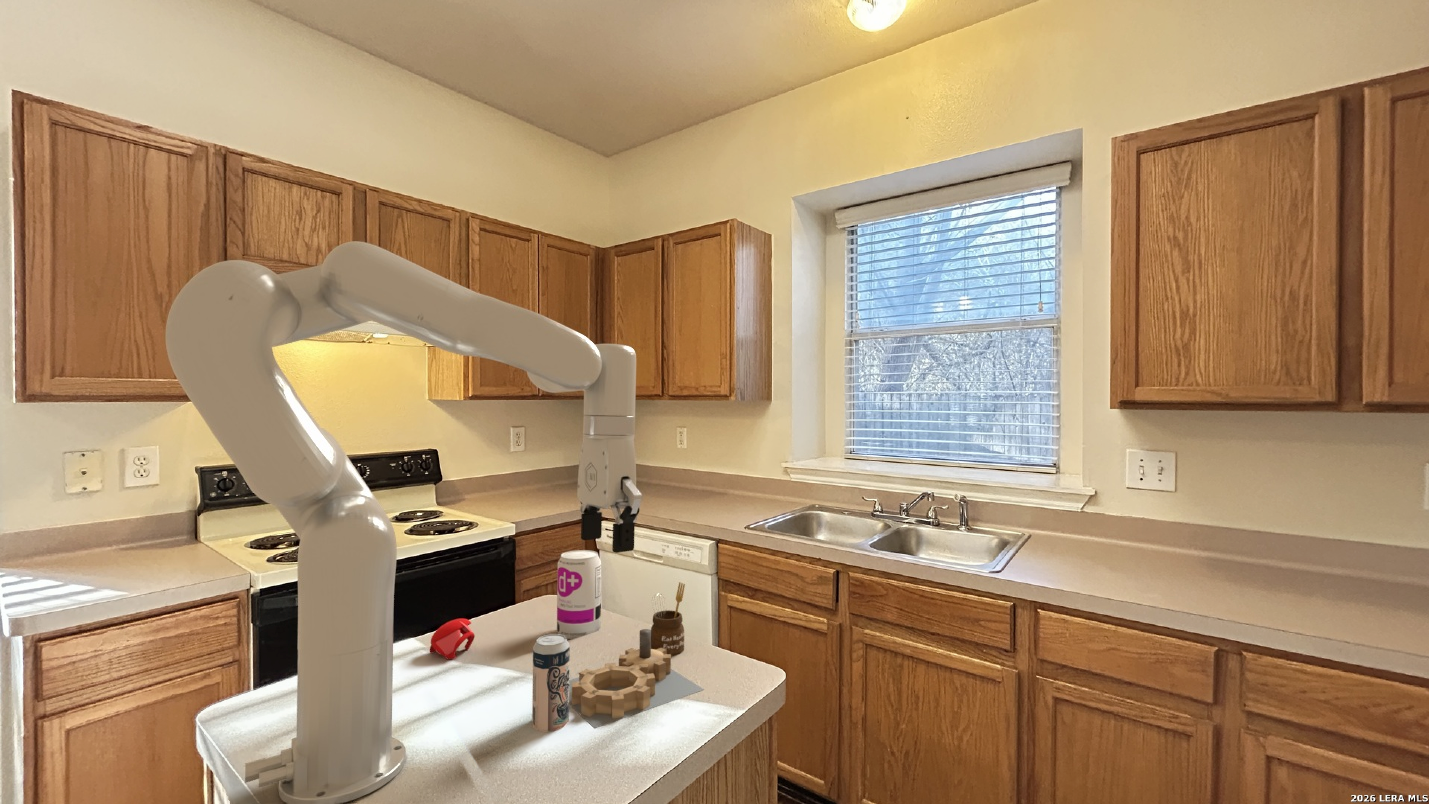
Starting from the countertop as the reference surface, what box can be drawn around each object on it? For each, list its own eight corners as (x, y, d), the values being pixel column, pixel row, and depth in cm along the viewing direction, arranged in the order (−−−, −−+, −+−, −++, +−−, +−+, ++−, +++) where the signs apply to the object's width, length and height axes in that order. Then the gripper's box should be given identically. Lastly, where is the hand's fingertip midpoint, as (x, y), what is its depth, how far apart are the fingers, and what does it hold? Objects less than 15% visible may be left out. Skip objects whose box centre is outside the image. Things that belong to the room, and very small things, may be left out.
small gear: (642, 688, 89) (642, 645, 89) (608, 672, 95) (608, 631, 95) (681, 671, 95) (681, 630, 95) (647, 656, 101) (647, 618, 101)
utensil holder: (643, 654, 104) (643, 585, 105) (671, 645, 109) (672, 579, 109) (663, 665, 100) (664, 593, 100) (692, 655, 104) (692, 586, 104)
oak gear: (595, 727, 78) (595, 707, 79) (559, 693, 88) (559, 676, 88) (669, 701, 86) (669, 683, 86) (628, 672, 95) (628, 656, 95)
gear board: (594, 735, 78) (594, 728, 78) (549, 692, 90) (549, 685, 90) (704, 696, 89) (704, 689, 89) (651, 662, 101) (651, 656, 101)
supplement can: (578, 644, 109) (579, 561, 109) (547, 634, 113) (548, 555, 114) (609, 630, 116) (610, 553, 116) (579, 622, 120) (579, 547, 120)
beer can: (558, 741, 77) (559, 647, 77) (525, 736, 78) (526, 644, 78) (574, 722, 82) (575, 634, 82) (542, 718, 83) (543, 631, 83)
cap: (486, 629, 107) (463, 608, 109) (472, 629, 102) (447, 608, 103) (456, 668, 105) (432, 647, 107) (440, 671, 100) (415, 649, 101)
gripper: (560, 426, 92) (557, 537, 92) (615, 430, 79) (612, 560, 78) (604, 426, 97) (601, 532, 96) (663, 430, 83) (660, 553, 83)
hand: (606, 544), depth 87 cm, fingers open, 9 cm apart
